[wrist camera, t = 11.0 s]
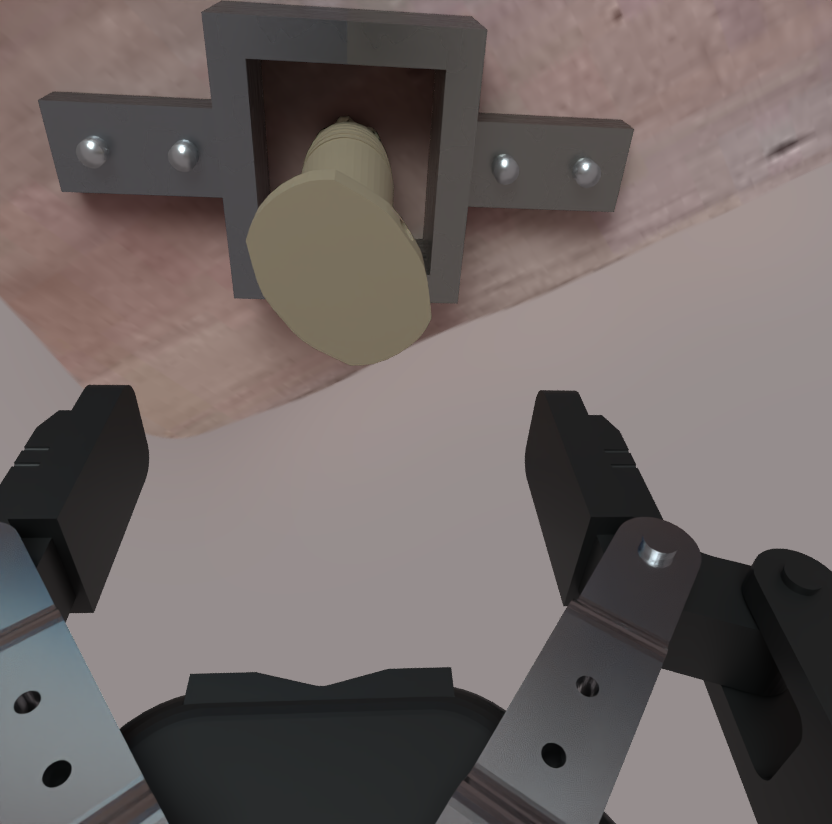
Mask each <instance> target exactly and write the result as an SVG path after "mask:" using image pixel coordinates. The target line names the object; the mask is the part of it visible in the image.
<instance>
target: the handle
mask: <svg viewBox="0 0 832 824" xmlns="http://www.w3.org/2000/svg"><path fill="white" fill-rule="evenodd" d="M393 193H394V188H393V178H392V172H391V167H390V163H389V160H388V157H387V155H386V152H385V150H384V148H383V146H382V144H381V140H380V137H379V135H378V133H377V132H376V131H375V130H374V129H373V128H372V127H365V126H363V125H361V124H358V123H356V122H354V121H353V120H352V119H351V118H350V117H349V116H341V117H339V118H338V120H337V122H336V123H335V124H333V125H331V126H329V127H328V128H326V129H322V130H321V131H320V132H319V133H318V135H317V137H316V139H315V140H314V141H313V143H312V145H311V147H310V148H309V150H308V153H307V155H306V158H305V161H304V165H303V169H302V174H300V175H298V176H295V177H293V178H292V179H290V180H288V181H286V182H285V183H283V184H281V185H280V186H279V187H278V188H277V189H275V190H274V191H273V192H272V193H271V194H269V195H268V197H267V198H266V199H265V200H264V202H263V203H262V204H261V205H260V206H259V208H258V210H257V212H256V214H255V216H254V218H253V220H252V223H251V226H250V228H249V231H248V235H247V238H246V244H247V247H248V251H249V255H250V259H251V262H252V266H253V269H254V273H255V276H256V279H257V282H258V285H259V287H260V289H261V292H262V294H263V296H264V297H265V299H266V300H267V302H268V303H269V304H270V306H271V307H272V309H273V310H274V311H275V312H276V313H277V314H278V315H279V317H280V318H281V319H282V320H283V321H284V322H285V323H286V325H287V326H288V327H289V328H290V329H291V330H292V331H293V332H294V333H295V334H296V335H297V336H298V337H299V338H300V339H301V340H302V341H304V342H305V343H307V344H308V345H310V346H311V347H313V348H315V349H317V350H319V351H321V352H323V353H325V354H327V355H329V356H331V357H333V358H335V359H337V360H339V361H342V362H344V363H346V364H348V365H350V366H355V365H369V364H374V363H378V362H381V361H384V360H387V359H389V358H390V357H393V356H395V355H397V354H399V353H400V352H402V351H403V350H405V349H406V348H408V347H409V346H411V345H412V344H413V343H414V342H415V341H416V340H417V339H418V338H419V337H420V336H421V335H422V333H423V332H424V331H425V329H426V328H427V326H428V324H429V322H430V320H431V318H432V317H431V307H430V297H429V289H428V281H427V276H426V271H425V266H424V261H423V257H422V253H421V250H420V248H419V246H418V245H417V243H416V241H415V239H414V237H413V236H412V234H411V233H410V231H409V229H408V228H407V226H406V224H405V223H404V221H403V220H402V219H401V217H400V216H399V215H398V213H397V212H396V211H395V210H394V209H393Z"/></svg>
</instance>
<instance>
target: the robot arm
mask: <svg viewBox="0 0 832 824" xmlns="http://www.w3.org/2000/svg"><path fill="white" fill-rule="evenodd" d="M628 450H629V449H628V448H627V445H626V443H625V441H624V439H623V437H622V435H621V433H620V431H619V430H618V429H616V428H615V427H614V426H613V425H612V424H611V423H610V422H609V421H608V420H607V419H605V418H604V417H603V416H602V415H588V413H587V410H586V408H585V406H584V404H583V401H582V399H581V397H580V395H579V393H578V392H577V391H550V390H548V391H546V390H540V391H539V392H538V394H537V397H536V401H535V406H534V411H533V415H532V420H531V425H530V430H529V435H528V440H527V445H526V452H525V471H526V477H527V481H528V484H529V488H530V491H531V495H532V498H533V502H534V505H535V509H536V512H537V515H538V519H539V522H540V526H541V529H542V533H543V537H544V540H545V543H546V547H547V550H548V554H549V557H550V561H551V564H552V568H553V571H554V575H555V578H556V582H557V585H558V589H559V592H560V595H561V599H562V603H563V606H567V608H566V610H565V611H564V613H563V615H562V616H561V618H560V620H559V622H558V623H557V625H556V627H555V629H554V630H553V632H552V634H551V635H550V637H549V639H548V640H547V642H546V644H545V646H544V647H543V649H542V651H541V652H540V654H539V656H538V658H537V659H536V661H535V663H534V665H533V666H532V668H531V669H530V671H529V673H528V675H527V676H526V678H525V680H524V682H523V683H522V685H521V687H520V688H519V690H518V692H517V693H516V695H515V697H514V699H513V700H512V702H511V704H510V705H509V707H508V709H507V711H506V710H504V709H502V708H501V707H499V706H498V705H496V704H495V703H493V702H491V701H489V700H487V699H485V698H483V697H481V696H479V695H477V694H474V693H472V692H469V691H466V690H463V689H459V688H455V687H453V680H452V671H451V668H450V667H442V668H403V669H387V670H383V671H379V672H375V673H372V674H368V675H364V676H361V677H357V678H353V679H350V680H346V681H343V682H339V683H335V684H331V685H327V686H315V685H311V684H306V683H301V682H297V681H292V680H288V679H283V678H279V677H274V676H270V675H266V674H261V673H257V672H246V673H210V674H190V677H189V682H188V686H187V690H186V695H184V696H180V697H177V698H174V699H171V700H169V701H166V702H164V703H161V704H159V705H157V706H155V707H153V708H151V709H149V710H147V711H145V712H143V713H142V714H140V715H139V716H137V717H136V718H134V719H132V720H131V721H130V722H128V723H127V724H125V725H124V726H123V727H121V729H119V728H118V726H117V724H116V722H115V720H114V718H113V716H112V714H111V712H110V710H109V708H108V706H107V704H106V702H105V700H104V698H103V696H102V694H101V692H100V690H99V688H98V686H97V684H96V682H95V680H94V678H93V676H92V675H91V672H90V670H89V669H88V667H87V665H86V663H85V661H84V659H83V657H82V655H81V653H80V651H79V649H78V647H77V645H76V643H75V641H74V639H73V637H72V635H71V634H70V631H69V629H68V627H67V625H66V620H67V618H68V615H69V613H94V611H95V608H96V606H97V603H98V600H99V598H100V595H101V593H102V590H103V587H104V585H105V582H106V580H107V577H108V575H109V572H110V570H111V567H112V564H113V562H114V559H115V557H116V554H117V552H118V549H119V546H120V544H121V541H122V539H123V536H124V534H125V531H126V528H127V526H128V523H129V521H130V518H131V516H132V513H133V510H134V508H135V505H136V503H137V500H138V497H139V495H140V492H141V490H142V487H143V485H144V482H145V479H146V476H147V472H148V467H149V450H148V444H147V440H146V436H145V432H144V428H143V424H142V420H141V416H140V412H139V408H138V404H137V400H136V396H135V392H134V390H133V388H132V387H131V386H129V385H88V386H86V387H85V389H84V390H83V392H82V394H81V395H80V397H79V399H78V400H77V402H76V404H75V406H74V407H73V409H72V410H71V411H70V410H59V411H58V412H56V413H55V414H54V415H52V416H51V417H50V418H48V419H47V420H46V421H44V422H43V423H42V424H40V425H39V426H38V427H37V428H36V429H35V431H34V432H33V434H32V436H31V437H30V439H29V440H28V442H27V444H26V445H25V450H24V451H21V453H20V454H19V456H18V457H17V459H16V461H15V462H14V464H15V465H14V467H11V468H10V470H9V472H8V473H7V475H6V476H5V478H4V479H3V481H2V482H1V484H0V824H616V823H615V822H614V821H613V820H612V819H611V818H610V817H609V816H608V815H607V814H606V813H605V812H604V809H605V807H606V804H607V802H608V799H609V796H610V794H611V792H612V789H613V787H614V784H615V782H616V779H617V777H618V775H619V772H620V769H621V767H622V765H623V762H624V760H625V757H626V754H627V752H628V750H629V747H630V745H631V742H632V740H633V737H634V735H635V732H636V730H637V727H638V725H639V722H640V719H641V717H642V715H643V712H644V710H645V707H646V705H647V702H648V700H649V697H650V695H651V692H652V690H653V687H654V685H655V682H656V680H657V677H658V675H659V672H660V670H661V668H662V669H666V670H669V671H673V672H676V673H680V674H684V675H687V676H691V677H694V678H698V679H702V680H704V683H705V686H706V688H707V691H708V693H709V696H710V699H711V701H712V704H713V707H714V709H715V712H716V715H717V717H718V720H719V723H720V725H721V728H722V730H723V733H724V736H725V738H726V741H727V744H728V746H729V749H730V751H731V754H732V757H733V760H734V762H735V765H736V767H737V770H738V773H739V775H740V778H741V780H742V783H743V786H744V789H745V791H746V794H747V797H748V799H749V802H750V804H751V807H752V810H753V812H754V815H755V818H756V820H757V823H758V824H832V571H830V570H829V569H828V568H827V567H826V566H824V565H823V564H821V563H820V562H819V561H817V560H815V559H813V558H811V557H809V556H807V555H805V554H802V553H799V552H797V551H793V550H788V549H770V550H766V551H764V552H762V553H761V554H759V555H758V556H757V558H756V559H755V561H754V562H753V564H752V566H750V565H745V564H742V563H738V562H734V561H729V560H725V559H721V558H717V557H713V556H710V555H707V554H704V553H701V552H700V550H699V548H698V546H697V544H696V543H695V541H694V540H693V539H692V538H691V537H690V536H689V535H688V534H687V533H686V532H685V531H684V530H682V529H681V528H679V527H678V526H676V525H674V524H672V523H670V522H667V521H664V520H663V518H662V516H661V514H660V512H659V510H658V508H657V506H656V504H655V502H654V500H653V498H652V496H651V494H650V492H649V490H648V488H647V486H646V484H645V482H644V480H643V478H642V476H641V474H640V472H639V470H638V468H636V463H635V462H634V459H633V457H632V455H631V453H629V452H628Z"/></svg>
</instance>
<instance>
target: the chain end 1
mask: <svg viewBox="0 0 832 824" xmlns="http://www.w3.org/2000/svg"><path fill="white" fill-rule="evenodd" d="M348 11H349V9H346V8H331V7H315V6H299V5H283V4H267V3H252V2H236V1H220V2H218V3H216V4H215V5H213V6H211V7H209V8H208V9H206V10H204V11H202V12H201V13H202V22H203V30H204V39H205V48H206V56H207V65H208V74H209V82H210V91H211V99H192V98H172V97H152V96H132V95H112V94H92V93H72V92H52V93H50V94H48V95H46V96H44V97H43V98H41V99H39V100H38V102H39V106H40V110H41V114H42V118H43V122H44V125H45V129H46V133H47V137H48V141H49V145H50V149H51V152H52V156H53V160H54V164H55V168H56V172H57V176H58V179H59V183H60V187H61V191H62V192H83V193H110V194H138V195H165V196H192V197H220V198H223V204H224V213H225V222H226V231H227V239H228V248H229V257H230V265H231V274H232V283H233V292H234V298H243V299H265V297H264V296H263V294H262V292H261V289H260V287H259V285H258V282H257V279H256V276H255V273H254V269H253V266H252V262H251V259H250V255H249V251H248V247H247V244H246V238H247V235H248V231H249V228H250V226H251V223H252V220H253V218H254V216H255V214H256V212H257V210H258V208H259V206H260V205H261V204H262V203H263V202H264V200H265V199H266V198H267V197H268V195H269V194H270V184H269V170H268V156H267V142H266V128H265V114H264V100H263V86H262V72H261V60H279V61H297V62H315V63H333V64H347V18H348Z"/></svg>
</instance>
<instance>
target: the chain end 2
mask: <svg viewBox="0 0 832 824" xmlns="http://www.w3.org/2000/svg"><path fill="white" fill-rule="evenodd" d="M486 37H487V29H486V28H485V27H484V26H482V25H481V24H480V23H479V22H478V21H477V20H475V19H474V18H473V17H472V16H457V15H441V14H425V13H409V12H394V11H378V10H362V9H349V11H348V18H347V64H351V65H369V66H387V67H405V68H423V69H435V74H434V88H433V102H432V117H431V131H430V145H429V159H428V174H427V188H426V202H425V217H424V231H423V239H415V241H416V243H417V245H418V246H419V248H420V250H421V253H422V257H423V261H424V266H425V271H426V276H427V281H428V289H429V297H430V303H458V294H459V285H460V276H461V266H462V257H463V248H464V239H465V230H466V221H467V211H468V207H492V208H519V209H547V210H574V211H601V212H614V209H615V205H616V201H617V197H618V193H619V189H620V185H621V181H622V177H623V172H624V168H625V164H626V160H627V156H628V152H629V148H630V144H631V140H632V136H633V131H634V129H633V128H632V127H631V126H629V125H628V124H627V123H625V122H624V121H623V120H612V119H592V118H572V117H552V116H532V115H512V114H492V113H478V111H479V101H480V92H481V83H482V74H483V65H484V55H485V46H486Z"/></svg>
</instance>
